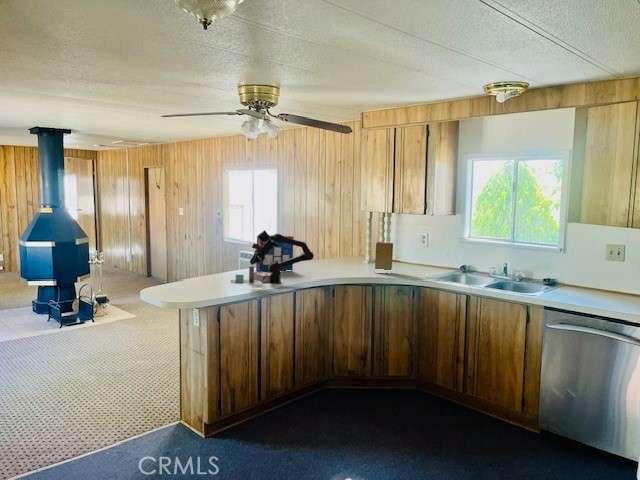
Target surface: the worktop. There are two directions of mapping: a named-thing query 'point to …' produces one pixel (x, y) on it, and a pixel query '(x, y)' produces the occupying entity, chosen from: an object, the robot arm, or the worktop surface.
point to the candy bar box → (262, 276)
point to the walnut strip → (251, 277)
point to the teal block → (239, 277)
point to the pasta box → (276, 255)
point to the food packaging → (384, 255)
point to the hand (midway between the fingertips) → (250, 263)
